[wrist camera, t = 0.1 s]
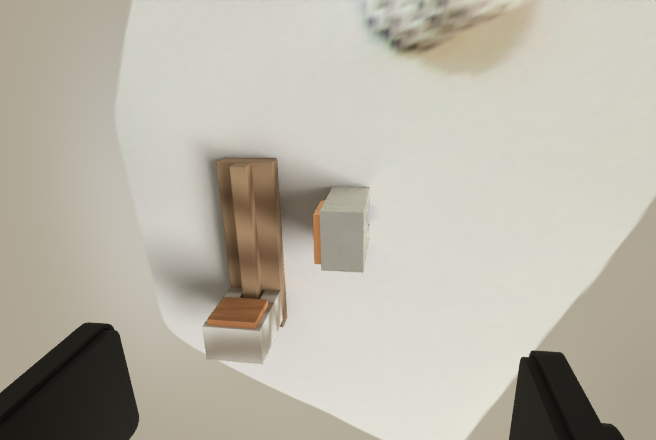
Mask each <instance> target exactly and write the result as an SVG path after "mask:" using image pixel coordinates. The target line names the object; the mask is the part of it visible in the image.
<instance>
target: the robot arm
mask: <svg viewBox="0 0 656 440" xmlns="http://www.w3.org/2000/svg"><path fill="white" fill-rule="evenodd" d="M138 422H139V413H138V409H137V405H136V401H135V397H134V393H133V388H132V385H131V380H130V376H129V372H128V368H127V364H126V360H125V355H124V352H123V348H122V343H121V339H120V335H119V333H118V332H117V331H115V330H114V328H113V326H112V325H110V324H103V323H84V324H82V325H81V326H80V327H79V328H77V329H76V330H75V331H74V332H72V333H71V334H70V335H69V336H68V337H66V338H65V339H64V340H63V341H62V342H61V343H60V344H58V345H57V346H56V347H55V348H54V349H52V350H51V351H50V352H49V353H47V354H46V355H45V356H44V357H43V358H42V359H40V360H39V361H38V362H37V363H35V364H34V365H33V366H32V367H31V368H30V369H28V370H27V371H26V372H25V373H23V374H22V375H21V376H20V377H19V378H18V379H16V380H15V381H14V382H13V383H12V384H10V385H9V386H8V387H7V388H6V389H4V390H3V391H2V392H1V393H0V440H129V439H130V438H131V436H132V435H133V434H134V432H135V430H136V429H137V426H138ZM509 440H624V438H623V436H622V435H621V433H620V432H619V431H618V429H617V428H616V427H615V426H613V425H612V424H606V423H601V422H600V420H599V418H598V416H597V415H596V413H595V411H594V409H593V407H592V405H591V404H590V402H589V400H588V398H587V396H586V395H585V393H584V391H583V389H582V387H581V386H580V384H579V382H578V380H577V378H576V376H575V374H574V373H573V371H572V369H571V367H570V365H569V364H568V362H567V360H566V358H565V356H564V355H563V354H562V353H561V352H548V351H531V353H530V355H529V357H522V358H521V359H520V364H519V372H518V379H517V386H516V393H515V400H514V408H513V414H512V422H511V429H510V436H509Z"/></svg>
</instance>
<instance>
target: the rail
mask: <svg viewBox="0 0 656 440" xmlns="http://www.w3.org/2000/svg"><path fill="white" fill-rule="evenodd" d="M217 174H218V182H219V191H220V200H221V208H222V213H223V221H224V230H225V239H226V247H227V256H228V265H229V274H230V282H231V288H230V289H229V291H228V292H227V293H226V295H225V296H224V297H223V299H222V300H221V301H220V303H219V304H218V305H217V307H216V308H215V309H214V311H213V312H212V314H211V315H210V316H209V318H208V319H207V321H206V322H205V323H204V325H203V326H202V329H203V336H204V342H205V349H206V356H207V359H211V360H221V361H232V362H243V363H254V364H263V362H264V360H265V358H266V356H267V353H268V351H269V349H270V347H271V345H272V342H273V340H274V338H275V336H276V333H277V331H278V329H279V327H283V326H284V324H285V321H286V319H287V308H286V292H285V277H284V261H283V246H282V230H281V215H280V199H279V184H278V168H277V159H276V158H223V159H221V160H219V161H217Z"/></svg>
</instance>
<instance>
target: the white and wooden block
mask: <svg viewBox="0 0 656 440" xmlns="http://www.w3.org/2000/svg"><path fill="white" fill-rule="evenodd" d="M369 203H370V187H332V189H331V191H330V192H329V194H328V196H327V198H326V200H321V201H320V203H319V205H318V207H317V208H316V210H315V212H314V214H313V231H314V259H315V264H321V270H326V271H344V272H363V271H364V265H365V260H366V254H367V248H368V242H369V224H368V208H369Z"/></svg>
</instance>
